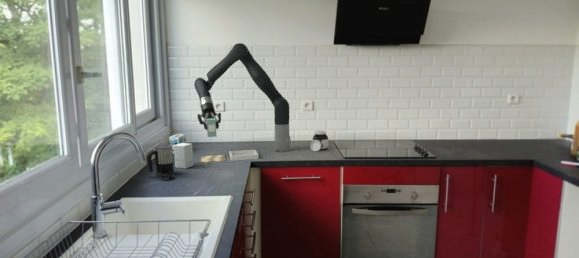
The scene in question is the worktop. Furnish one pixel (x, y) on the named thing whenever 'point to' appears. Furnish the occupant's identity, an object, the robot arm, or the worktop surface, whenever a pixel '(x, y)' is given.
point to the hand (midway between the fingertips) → (212, 128)
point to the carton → (211, 127)
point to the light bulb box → (177, 140)
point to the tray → (243, 155)
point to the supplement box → (183, 155)
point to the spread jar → (320, 141)
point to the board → (212, 158)
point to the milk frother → (161, 160)
